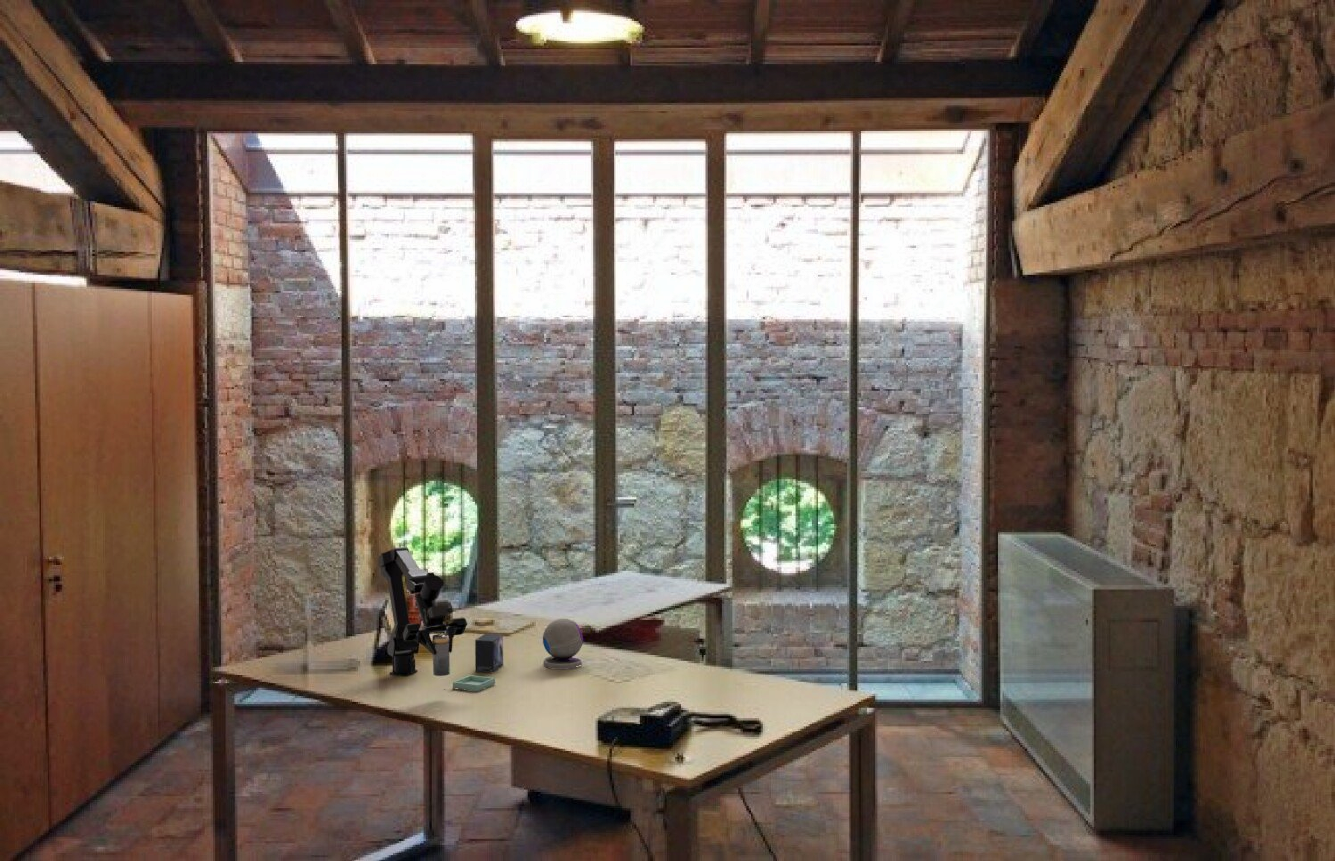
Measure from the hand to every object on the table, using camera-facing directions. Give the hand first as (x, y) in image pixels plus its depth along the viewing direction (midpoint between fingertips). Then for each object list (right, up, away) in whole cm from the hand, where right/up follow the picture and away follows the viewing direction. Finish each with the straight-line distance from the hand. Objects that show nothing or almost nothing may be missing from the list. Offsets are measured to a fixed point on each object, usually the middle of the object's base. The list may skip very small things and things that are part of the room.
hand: (442, 653), depth 428 cm
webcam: (+33, -10, +40) cm, 52 cm away
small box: (+10, -11, +35) cm, 38 cm away
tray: (+7, -12, +13) cm, 20 cm away
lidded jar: (-1, -6, +2) cm, 7 cm away
